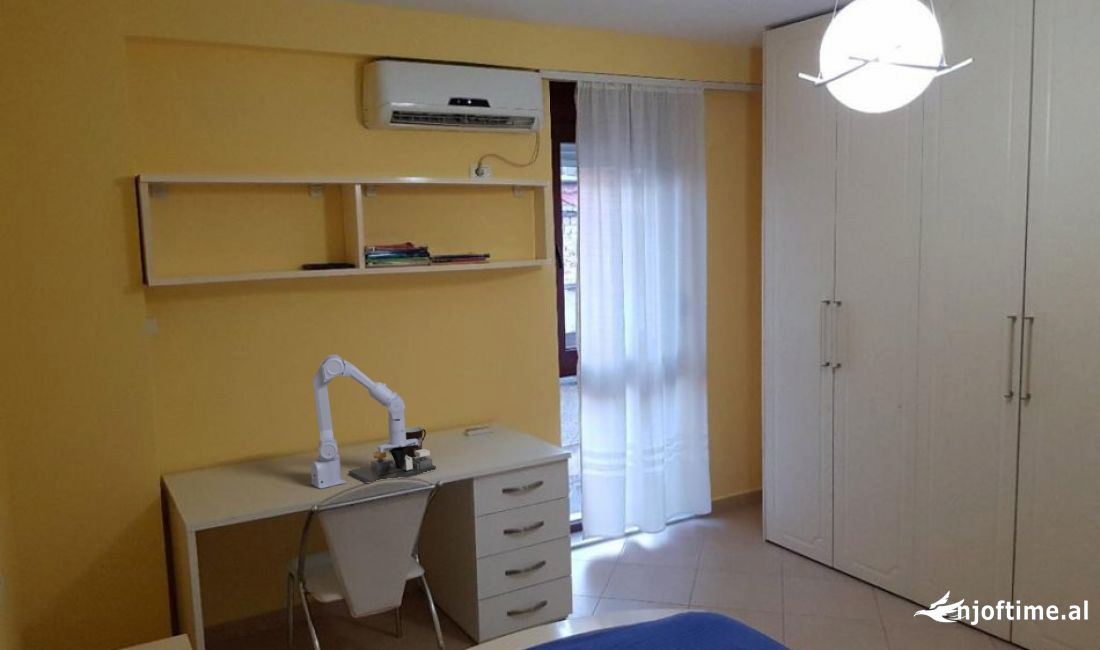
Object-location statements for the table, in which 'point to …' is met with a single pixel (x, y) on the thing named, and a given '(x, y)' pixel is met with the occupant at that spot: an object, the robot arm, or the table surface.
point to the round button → (380, 456)
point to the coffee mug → (414, 434)
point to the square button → (422, 453)
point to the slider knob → (407, 463)
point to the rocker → (392, 460)
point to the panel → (391, 470)
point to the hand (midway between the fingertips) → (399, 468)
